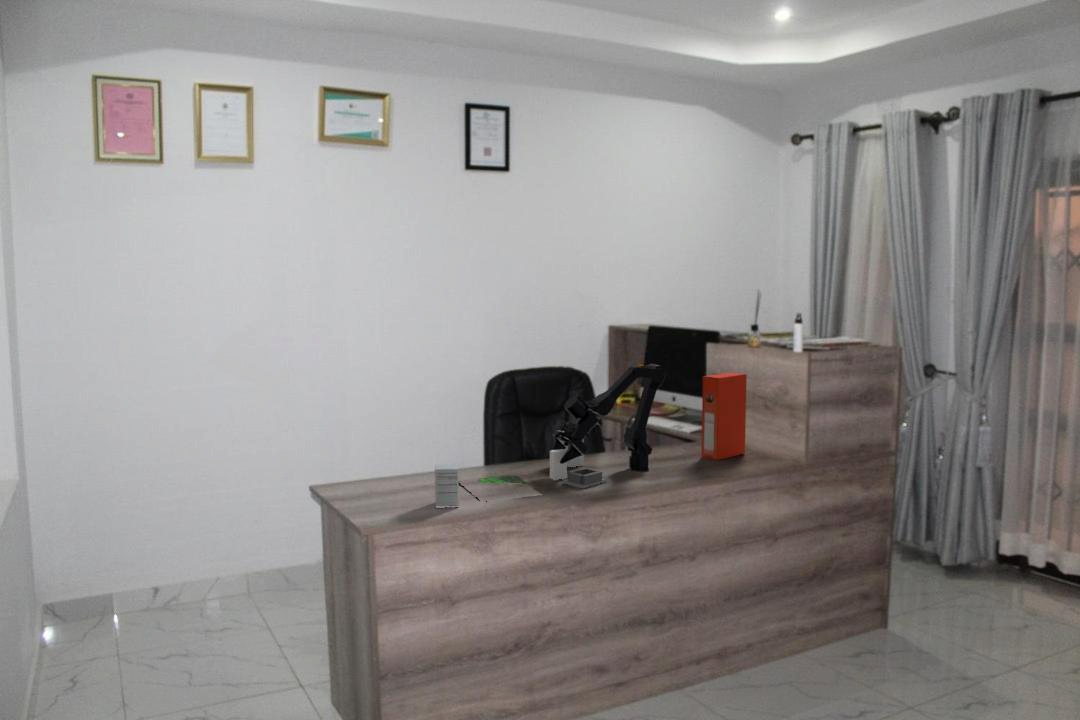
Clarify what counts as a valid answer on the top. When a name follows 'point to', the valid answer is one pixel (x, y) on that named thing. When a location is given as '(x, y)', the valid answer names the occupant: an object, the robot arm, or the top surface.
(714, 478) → the top surface
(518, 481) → the mouse mat
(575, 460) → the small box
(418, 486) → the top surface
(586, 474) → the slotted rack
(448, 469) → the grey drawer cabinet
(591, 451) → the top surface
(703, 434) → the file binder
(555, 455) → the plain light grey box
